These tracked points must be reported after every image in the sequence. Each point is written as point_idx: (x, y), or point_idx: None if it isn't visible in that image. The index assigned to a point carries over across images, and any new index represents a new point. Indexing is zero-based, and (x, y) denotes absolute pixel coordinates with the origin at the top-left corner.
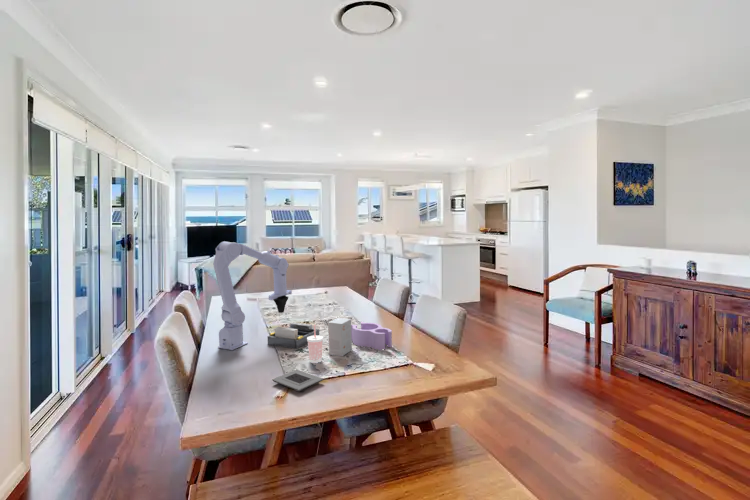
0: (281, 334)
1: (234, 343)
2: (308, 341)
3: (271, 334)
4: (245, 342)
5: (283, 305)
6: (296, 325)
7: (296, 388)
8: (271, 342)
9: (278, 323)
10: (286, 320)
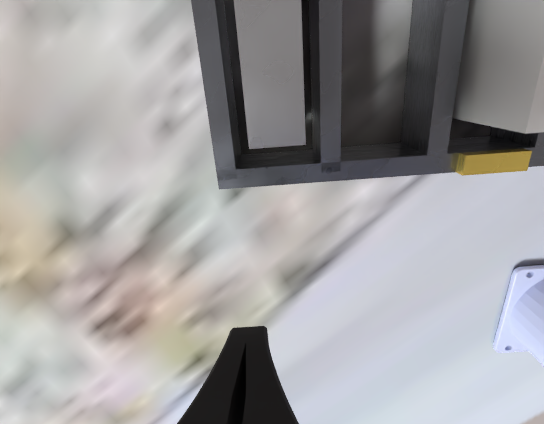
0: None
1: None
2: None
3: (531, 152)
4: (522, 280)
5: (248, 399)
6: (300, 56)
7: None
8: None
9: (117, 371)
10: (43, 373)
